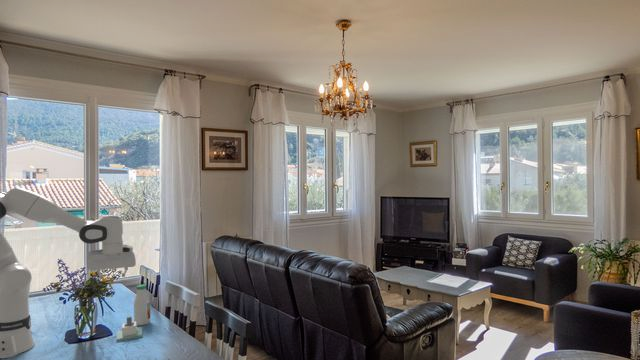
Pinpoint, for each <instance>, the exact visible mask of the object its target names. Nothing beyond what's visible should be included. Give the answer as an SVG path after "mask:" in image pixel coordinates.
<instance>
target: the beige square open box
mask: <svg viewBox="0 0 640 360" xmlns="http://www.w3.org/2000/svg"><path fill="white" fill-rule="evenodd" d="M121 330H122V336H127V335H132V334H137V325H136V321H135V322H134V321H132V326H127V322H126V323H125V322H124V323H122V324H121Z"/></svg>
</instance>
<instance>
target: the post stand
mask: <svg viewBox="0 0 640 360" xmlns="http://www.w3.org/2000/svg"><path fill="white" fill-rule="evenodd" d="M132 322H133V318H132V316H126V323H127V326H132ZM136 328H137V334H132V335H127V336H122V329H119V330H116V331H117V332H116V342H123V341H128V340H134V339H139V338H140V339H141V338H143V328H142V326H136Z"/></svg>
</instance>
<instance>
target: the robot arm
mask: <svg viewBox="0 0 640 360" xmlns="http://www.w3.org/2000/svg"><path fill="white" fill-rule="evenodd" d="M10 213H11V214H18V215H19V216H21V217H24V218H26V219H28V220H31V221H35V222H38V223H41V224H46V223H47V224H58V225H61V226H63V227H65V228H67V229H71V230H72V231H75V232H77V233H78V236H79V239H80V240H81V242H82V243H85V244H88V245H92V244H96V243H100V242H101V249H97V250H96V249H95V250H94V249H92V250H90V251H88V253H87V260H88V263H87V269H88V270H89V271H96V273H97V274H98V276H99V280H103V279H104V274H102V273H101V270H109V269H110V270H111V269H123V268H124V272H121V277H122V278H126V273H127V271H128V270H129V269H128V268H133V267H135V266H136V264H137V263H136V254H135V252H134V250H133V246H132V245H129V244H123V243H124V241H123V233H124V232H123V231H124V228H123V219H122V218H121V217H120V216H118V215H114V214H113V215H111V214H106V215H103V216H101V217H100V218H98V219H95V220H93V219H92V220H90V219H89V220H88V219H84V218H81V217H79V216H77V215H75V214H73V213H70V212H68V211H66V210H65V209H63V208H62V207H60V206H59V205H57V204H56V203H54V201H52V200H50V199H49V198H47V197H45V196H43V195H41V194H38V193H36V192H33V191H32V190H28V189H25V188H21V187H13V188H11V189H9V190H8V191H7V192H5V191H0V220H2V219H3V218H4V217H5V216H6V215H7V214H10ZM31 282H32V273H31V271H30V270H29V269H28V267H26V266H24V265H22V264H21V263H20V262H19V260H18V258H17V256H16V254H15V252H14V250H13V247H12V246H11V245H10V243H9V241H8V240H7V237H6V236H5V234H4V233H3V232H2V231H1V230H0V358H1V359H7V358H8V359H9V358H13V357H15V356H16V355H19V354H21V353H23V352H26V351H28V350H30V349H33V348H34V346H36V345H35V341H34V339H33V335H32V330H31V327H32V318H31V315H30V304H29V303H30V302H29V297H30V292H31V291H30V290H31Z"/></svg>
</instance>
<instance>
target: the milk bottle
mask: <svg viewBox="0 0 640 360" xmlns="http://www.w3.org/2000/svg"><path fill="white" fill-rule="evenodd" d="M150 301H151V300H150V297H149V295H148V293H147V285H146V284H137V285H136V295H135V297H134V300H133V318H134V320H133V322H135V321H136V327H142V326H145V325H148V324H150V323H151V304H150V303H151V302H150Z"/></svg>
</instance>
